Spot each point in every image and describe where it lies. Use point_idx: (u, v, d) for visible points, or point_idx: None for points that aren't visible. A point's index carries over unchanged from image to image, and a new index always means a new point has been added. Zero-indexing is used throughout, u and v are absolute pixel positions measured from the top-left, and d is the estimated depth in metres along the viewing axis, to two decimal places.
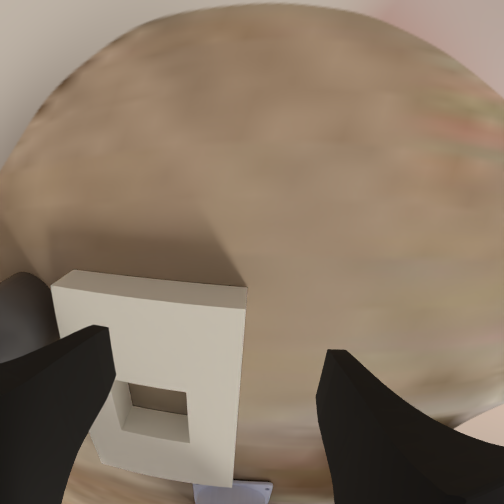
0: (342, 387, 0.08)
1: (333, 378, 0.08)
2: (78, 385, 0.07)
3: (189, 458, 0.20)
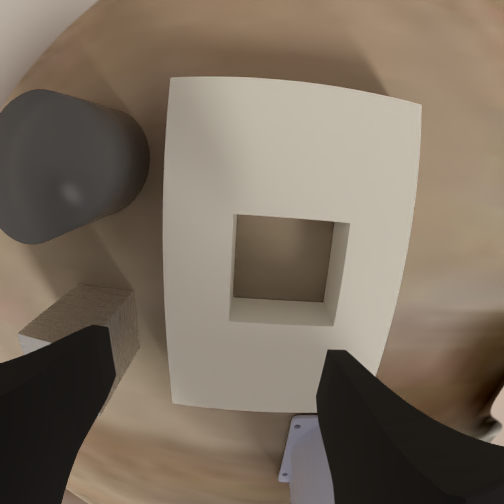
0: (342, 387, 0.08)
1: (333, 378, 0.08)
2: (78, 385, 0.07)
3: (324, 360, 0.16)
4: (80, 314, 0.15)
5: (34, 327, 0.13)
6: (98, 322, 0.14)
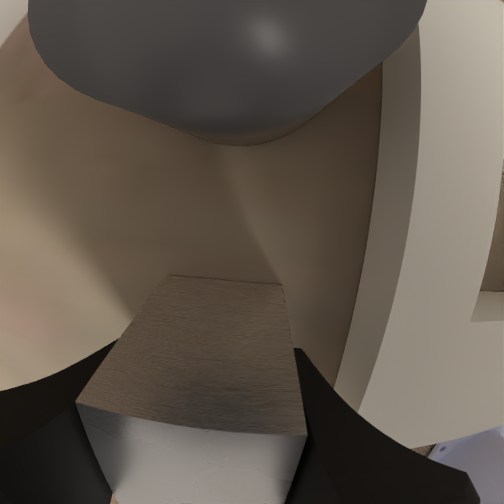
0: None
1: None
2: None
3: None
4: (219, 338, 0.08)
5: (119, 379, 0.06)
6: (277, 353, 0.07)
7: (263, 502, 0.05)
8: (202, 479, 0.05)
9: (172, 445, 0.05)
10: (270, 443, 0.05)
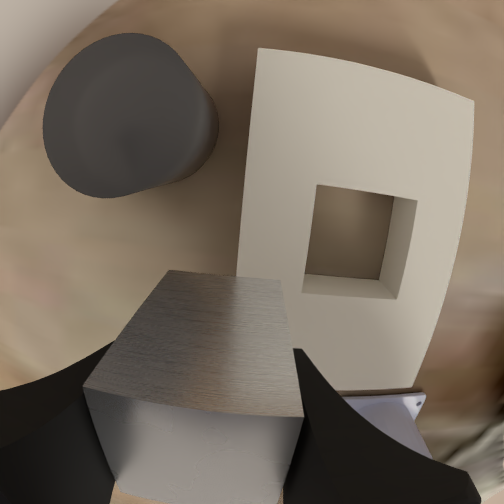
0: None
1: None
2: None
3: (385, 334, 0.16)
4: (220, 328, 0.08)
5: (124, 365, 0.06)
6: (275, 342, 0.08)
7: (262, 487, 0.06)
8: (203, 463, 0.06)
9: (175, 428, 0.05)
10: (268, 425, 0.05)
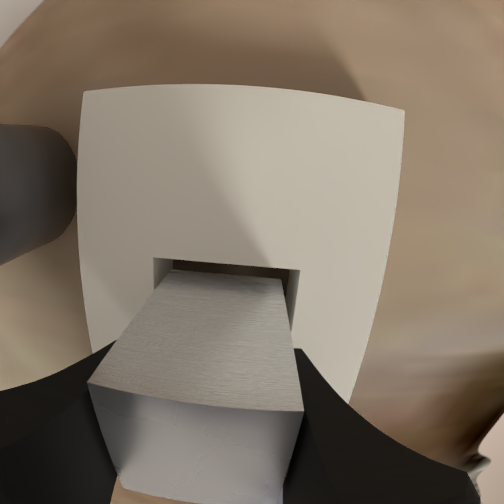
0: None
1: None
2: None
3: None
4: (221, 325, 0.08)
5: (128, 361, 0.06)
6: (275, 339, 0.08)
7: (263, 483, 0.06)
8: (205, 458, 0.06)
9: (178, 423, 0.05)
10: (270, 419, 0.05)
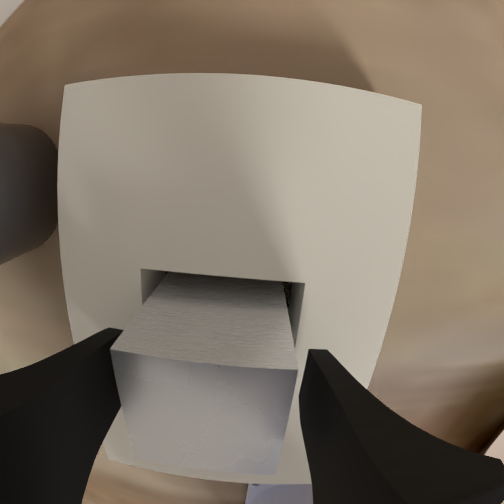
0: (320, 387, 0.08)
1: (312, 378, 0.08)
2: (96, 390, 0.07)
3: None
4: (226, 304, 0.09)
5: (145, 332, 0.07)
6: (274, 315, 0.09)
7: (264, 445, 0.07)
8: (212, 418, 0.07)
9: (189, 383, 0.07)
10: (269, 377, 0.06)
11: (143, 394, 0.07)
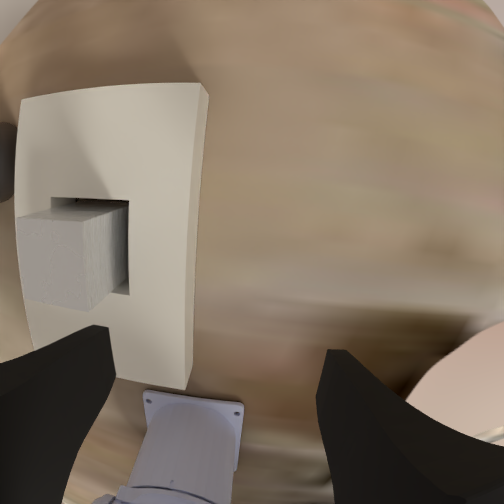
0: (342, 387, 0.08)
1: (333, 378, 0.08)
2: (78, 385, 0.07)
3: (129, 328, 0.18)
4: (83, 210, 0.15)
5: (35, 215, 0.13)
6: (101, 212, 0.14)
7: (77, 280, 0.13)
8: (53, 257, 0.12)
9: (43, 233, 0.12)
10: (71, 227, 0.12)
11: (26, 243, 0.12)
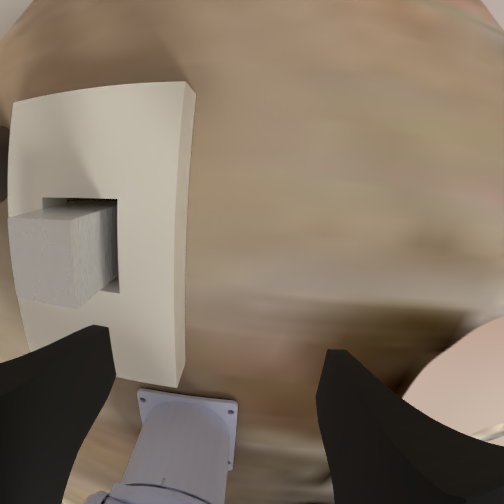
0: (342, 387, 0.08)
1: (333, 378, 0.08)
2: (78, 385, 0.07)
3: (120, 326, 0.18)
4: (73, 209, 0.15)
5: (26, 215, 0.13)
6: (89, 211, 0.14)
7: (66, 278, 0.13)
8: (42, 255, 0.12)
9: (33, 232, 0.12)
10: (59, 225, 0.12)
11: (18, 243, 0.12)
